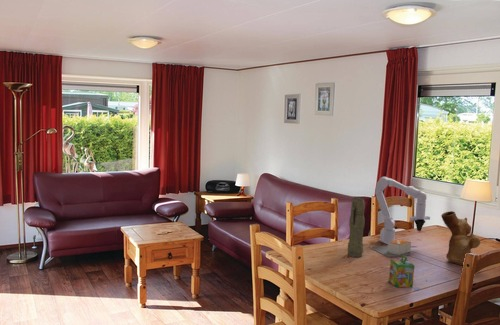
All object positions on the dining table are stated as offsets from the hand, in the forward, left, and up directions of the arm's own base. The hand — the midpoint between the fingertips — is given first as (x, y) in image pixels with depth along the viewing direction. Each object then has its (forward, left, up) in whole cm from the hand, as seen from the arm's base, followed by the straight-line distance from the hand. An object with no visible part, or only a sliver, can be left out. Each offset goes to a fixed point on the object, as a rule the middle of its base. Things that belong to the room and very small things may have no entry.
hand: (418, 230), depth 300 cm
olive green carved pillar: (+7, -52, -11) cm, 54 cm away
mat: (+5, -26, -10) cm, 28 cm away
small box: (+6, -15, -7) cm, 17 cm away
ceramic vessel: (+33, +1, -11) cm, 35 cm away
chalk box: (+54, -55, -11) cm, 78 cm away
